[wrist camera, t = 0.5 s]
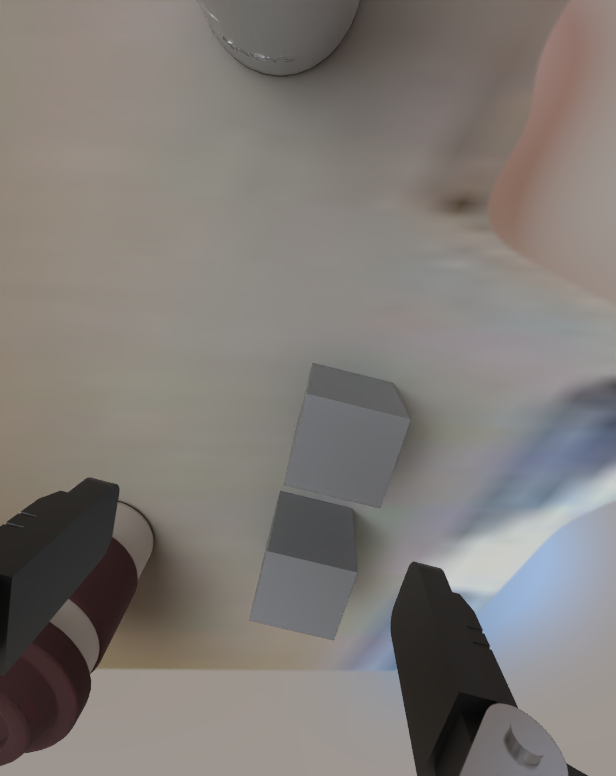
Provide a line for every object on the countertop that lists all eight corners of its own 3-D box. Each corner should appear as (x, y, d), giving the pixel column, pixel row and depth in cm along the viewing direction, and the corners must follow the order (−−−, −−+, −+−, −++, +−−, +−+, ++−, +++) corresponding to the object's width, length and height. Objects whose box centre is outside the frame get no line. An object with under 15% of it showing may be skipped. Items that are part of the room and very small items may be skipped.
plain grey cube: (280, 491, 32) (267, 550, 26) (352, 508, 32) (357, 572, 26) (265, 550, 34) (249, 620, 27) (333, 566, 34) (333, 640, 28)
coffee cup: (166, 589, 36) (57, 804, 22) (58, 567, 36) (-122, 769, 22) (175, 496, 33) (57, 675, 19) (57, 472, 33) (-152, 634, 19)
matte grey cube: (312, 363, 29) (307, 393, 22) (392, 383, 29) (411, 419, 22) (294, 436, 31) (283, 485, 24) (369, 455, 31) (379, 508, 24)
